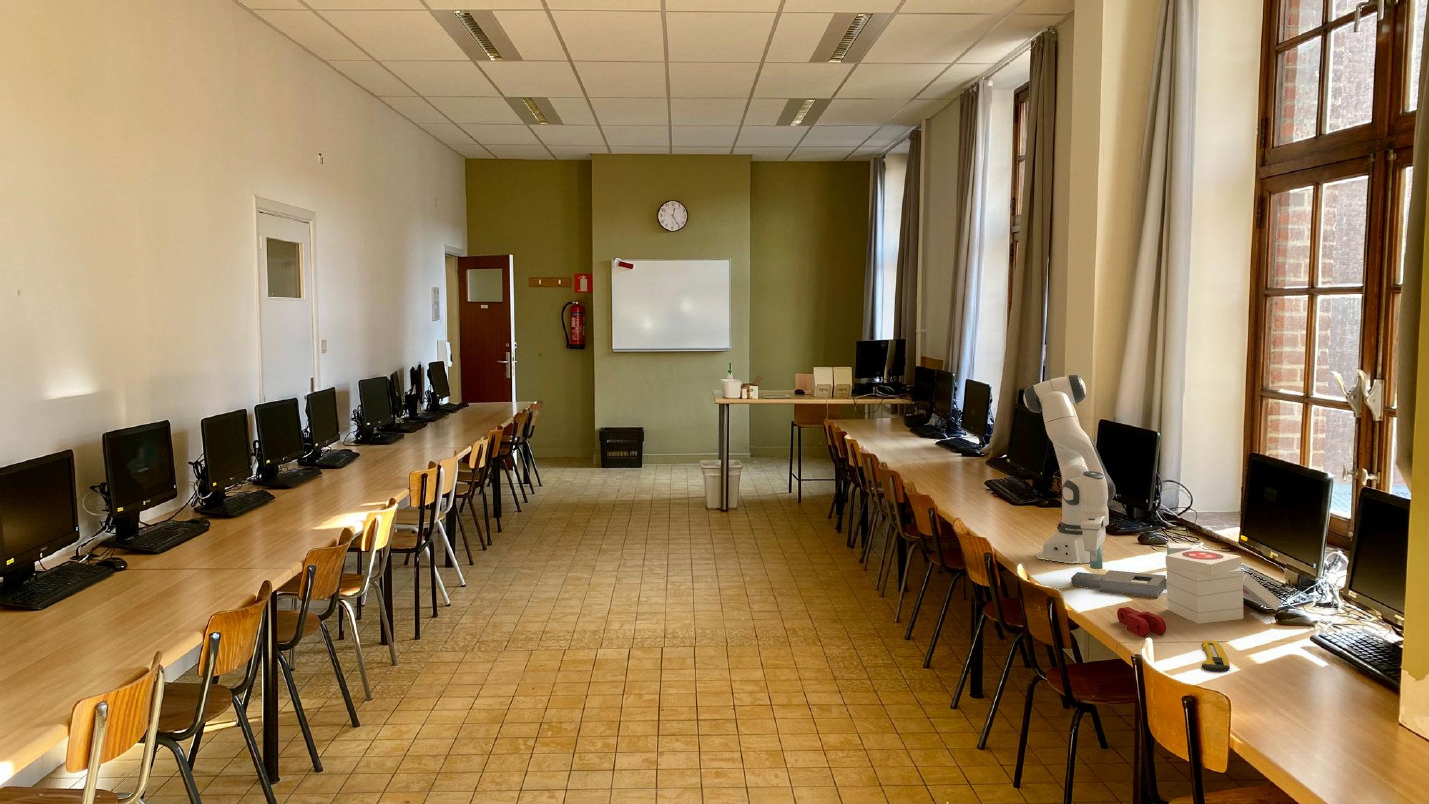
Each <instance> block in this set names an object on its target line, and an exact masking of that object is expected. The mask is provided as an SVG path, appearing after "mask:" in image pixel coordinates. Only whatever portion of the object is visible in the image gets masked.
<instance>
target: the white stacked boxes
mask: <svg viewBox="0 0 1429 804" xmlns="http://www.w3.org/2000/svg"><path fill="white" fill-rule="evenodd" d="M1165 566H1166V609H1167V611H1169V612H1171V613H1173V614H1176V615H1178V616H1181V617H1183V618H1185V619H1188V620H1190V621H1191V622H1194V623H1196V624H1199V625H1200V624H1208V623H1217V622H1225V621H1235V620H1243V619H1244V599H1245V600H1249V601H1252V602H1254V603H1256V604H1259V605H1262V606H1265V607H1267V608H1269V609H1273V611H1278V609H1279V608H1280V607H1281V605H1282V603H1283V601H1282V600H1281V599H1279V598H1278V596H1276V595H1274V594H1273V593H1272V592H1271V591H1270V590H1268V588H1265V586H1263V585H1262V584H1261V583H1260V582H1258V581H1257V580H1255V579H1254V578H1253V576H1250V574H1247V573H1245V572H1243V571H1244V570H1243V569H1241V568H1242V555H1235V554H1232V553H1231V554H1230V553H1225V552H1220V551H1215V550H1214V551H1213V550H1209V549H1204V548H1198V547H1194V548H1193V549H1190V550H1186V551H1182V552H1178V553H1174V554H1170V555H1167V554H1166V555H1165Z"/></svg>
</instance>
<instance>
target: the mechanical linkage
mask: <svg viewBox="0 0 1429 804" xmlns="http://www.w3.org/2000/svg"><path fill="white" fill-rule="evenodd" d="M1116 615H1117V619H1118V622H1119V623H1120V624H1121V625H1125V626H1126V631H1128V632H1129V633H1132V634H1134V635H1137V636H1138V637H1140V638H1141V637H1142V638H1144V637H1148V636H1149V635H1150V633H1153V634H1155V635H1164V634H1165V633H1166V631H1167V624H1166V622H1165V620H1164V618H1162V616H1160V615H1157V614H1155V613H1152V612H1150V611H1142V612H1141V611H1138V610H1136V609H1135V608H1131V607H1129V606H1125V607H1119V608H1118V610H1117V611H1116Z"/></svg>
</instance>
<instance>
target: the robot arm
mask: <svg viewBox="0 0 1429 804" xmlns="http://www.w3.org/2000/svg"><path fill="white" fill-rule="evenodd" d="M1086 394H1087V387H1086V384H1085V382H1084V381H1083V379H1082V378H1081V376H1079V375H1077V374H1069V375H1067V376H1059V377H1055V378H1054V377H1053V378H1051V379H1049V380H1045V381H1041V382H1039V383H1036V384H1031V385H1029V386H1027V387H1025V389H1024V392H1023V403H1024V405H1025V407H1026V408H1027V409H1028V410H1029V411H1030V412H1031V413H1038V414H1041V412H1042V417H1043V418H1042V419H1043V422H1044V426H1045V431H1046V434H1047V436H1048V438H1049V440H1050V441H1051V442H1052V444H1053V445H1052V446H1053V448H1054V449H1053V450H1054V451H1055V456H1056V459H1057V462H1058V466H1059V470H1060V475H1061V508H1062V509H1061V511H1062V513H1061V514H1062V520H1059V522H1058V523H1057V525H1056V529H1057V531H1056V532H1055V533H1053V534H1052V535H1050V536H1049V537H1048V538H1047V539H1045V540H1044V541H1043V545H1042V550H1041V551H1039V552H1038V553H1037V554H1036V556H1037V557H1038V558H1044V559H1048V560H1052V561H1060V562H1065V563H1064V564H1066V563H1080V564H1090V563H1089V562H1090V554H1091V560H1092V561H1097V549H1098V548H1099V547H1100V545H1101V544H1102V545H1103V543H1104V541H1105V540H1106V539H1107V538H1106V536H1107V535H1106V527H1107V526H1108V525H1110V524H1109V523H1110V521H1109V518H1110V517H1109V507H1108V504H1110V503H1111V502H1112V500H1113V499H1114V497H1115V495H1116V491H1117V489H1116V485H1115V483H1114V482H1113V480H1112V478H1111V476H1110V475H1109V474H1108V472H1107V469H1106V467H1105V464H1104V463H1103V461H1102V458H1101V455H1100V453H1099V451H1098V448H1097V447H1096V445H1095V443H1094V440H1093V439H1092V437H1091V435H1090V434H1089V433H1087V432H1085V430H1084V429H1083V428H1082V427H1081V424H1080V420H1079V417H1078V415H1077V411H1076V408H1075V406H1074V404H1076V406H1078V405H1079V404H1080V403H1081V402H1082V401H1084V400H1085V398H1086ZM1052 561H1051V562H1052Z"/></svg>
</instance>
